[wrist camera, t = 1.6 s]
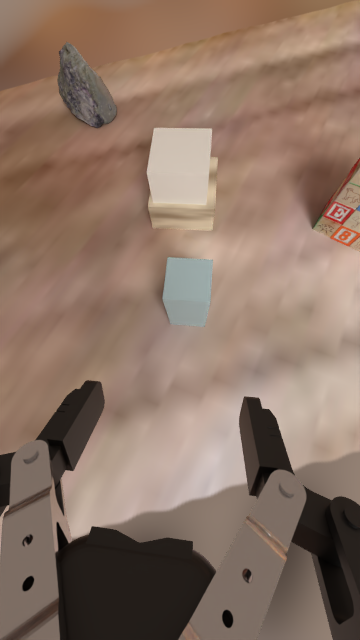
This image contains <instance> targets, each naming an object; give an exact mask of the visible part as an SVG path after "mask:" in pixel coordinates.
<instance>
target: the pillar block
mask: <svg viewBox="0 0 360 640" xmlns="http://www.w3.org/2000/svg"><path fill="white" fill-rule="evenodd" d="M212 266H213V260H207V259H190V258H173V257H168V259H167V267H166V275H165V283H164V291H163V302H164V305H165V308H166V311H167V315H168V318H169V321H170V324H176V325H188V326H201V327H205V323H206V318H207V314H208V310H209V306H210V298H211V282H212Z"/></svg>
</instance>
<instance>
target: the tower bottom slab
mask: <svg viewBox="0 0 360 640" xmlns="http://www.w3.org/2000/svg"><path fill="white" fill-rule="evenodd" d="M217 163H218V158H210V167H209V180H208V192H207V203H206V205H198V204H171V203H153V201H152V196H151V191H150V196H149V202H148V210H149V214H150V218H151V222H152V227H153V228H162V229H186V230H209V231H212V228H213V221H214V214H215V202H216V182H217Z"/></svg>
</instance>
